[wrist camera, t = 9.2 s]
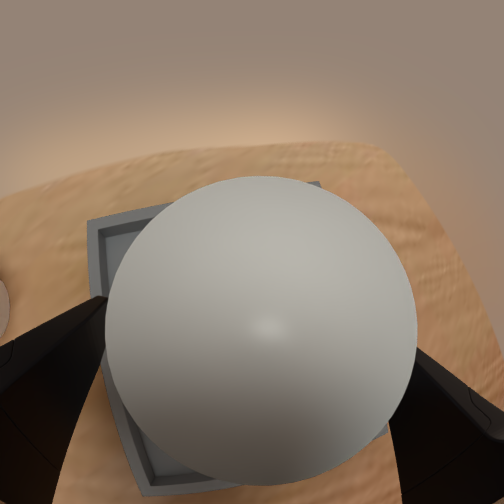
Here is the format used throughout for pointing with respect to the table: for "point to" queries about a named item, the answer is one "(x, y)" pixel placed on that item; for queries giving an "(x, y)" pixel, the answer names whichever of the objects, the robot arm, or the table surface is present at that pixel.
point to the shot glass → (4, 308)
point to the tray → (132, 437)
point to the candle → (261, 330)
